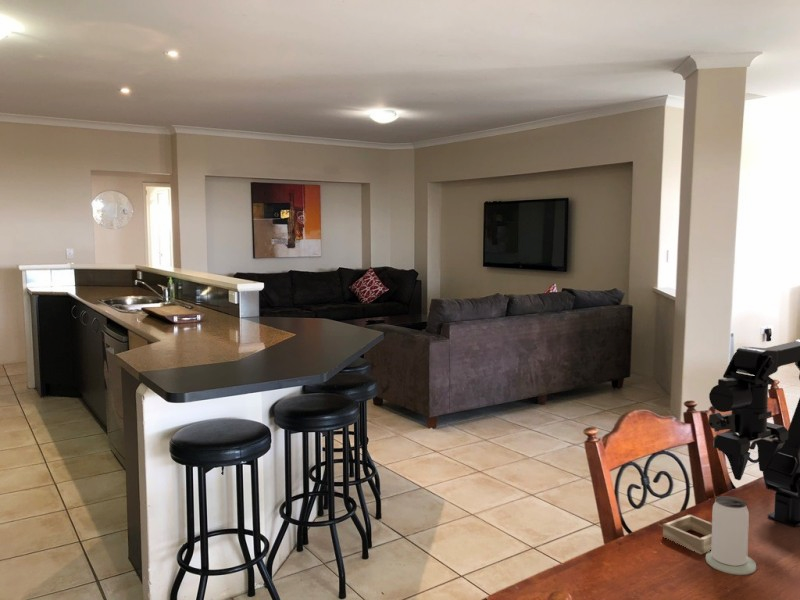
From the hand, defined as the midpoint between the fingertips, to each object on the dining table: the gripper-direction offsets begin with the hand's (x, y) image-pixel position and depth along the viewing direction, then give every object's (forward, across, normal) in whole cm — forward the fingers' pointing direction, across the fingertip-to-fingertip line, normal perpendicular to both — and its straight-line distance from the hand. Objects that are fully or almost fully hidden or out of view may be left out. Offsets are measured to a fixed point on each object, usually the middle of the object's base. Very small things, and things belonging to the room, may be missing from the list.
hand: (750, 475), depth 142 cm
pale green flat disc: (+13, +16, +6) cm, 21 cm away
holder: (+13, +13, -4) cm, 19 cm away
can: (+13, +16, +6) cm, 21 cm away
